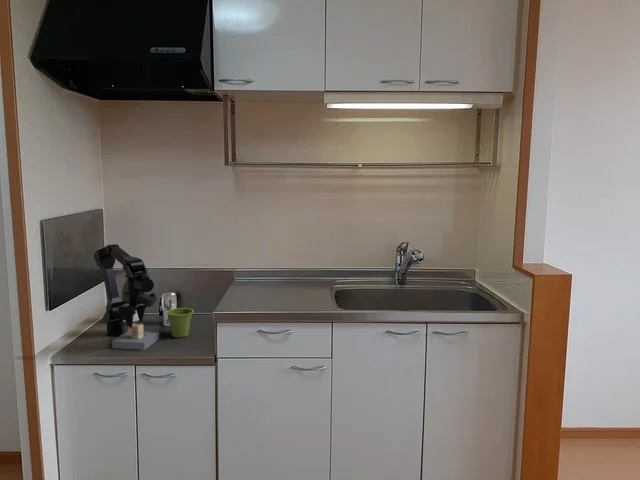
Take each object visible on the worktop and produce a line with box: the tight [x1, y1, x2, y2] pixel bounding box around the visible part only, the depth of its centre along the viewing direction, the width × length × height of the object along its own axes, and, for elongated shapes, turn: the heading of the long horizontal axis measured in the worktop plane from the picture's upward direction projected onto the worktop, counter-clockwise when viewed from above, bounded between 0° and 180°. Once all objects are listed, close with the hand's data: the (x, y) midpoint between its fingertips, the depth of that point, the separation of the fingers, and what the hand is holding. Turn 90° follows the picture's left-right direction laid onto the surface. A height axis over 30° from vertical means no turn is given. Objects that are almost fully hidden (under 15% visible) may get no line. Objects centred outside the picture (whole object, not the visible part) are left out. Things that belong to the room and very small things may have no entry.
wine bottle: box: [121, 279, 141, 326], centre depth 228 cm, size 8×8×30 cm
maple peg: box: [127, 323, 144, 339], centre depth 201 cm, size 4×4×8 cm
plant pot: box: [166, 307, 194, 338], centre depth 212 cm, size 12×12×11 cm
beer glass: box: [161, 291, 178, 327], centre depth 228 cm, size 7×7×15 cm
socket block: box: [111, 330, 160, 351], centre depth 201 cm, size 14×14×3 cm
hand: (136, 324), depth 200 cm, fingers open, 9 cm apart
